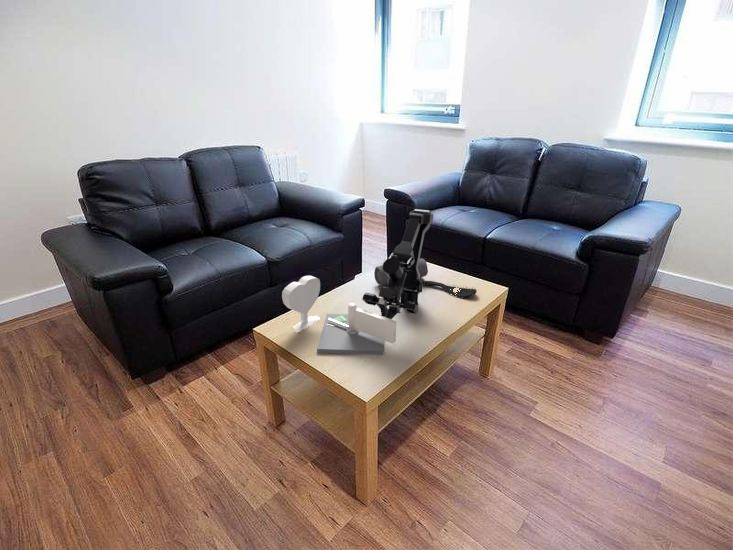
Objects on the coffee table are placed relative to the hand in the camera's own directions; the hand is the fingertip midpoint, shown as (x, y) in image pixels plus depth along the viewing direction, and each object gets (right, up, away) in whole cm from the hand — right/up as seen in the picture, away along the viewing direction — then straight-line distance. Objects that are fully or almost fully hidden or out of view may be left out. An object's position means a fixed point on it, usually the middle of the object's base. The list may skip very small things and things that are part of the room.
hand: (383, 327), depth 130 cm
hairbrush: (+29, +11, +38) cm, 49 cm away
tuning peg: (-8, -2, +6) cm, 10 cm away
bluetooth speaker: (+10, +14, +45) cm, 48 cm away
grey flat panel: (-11, -4, +8) cm, 14 cm away
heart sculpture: (-29, -1, +15) cm, 32 cm away
